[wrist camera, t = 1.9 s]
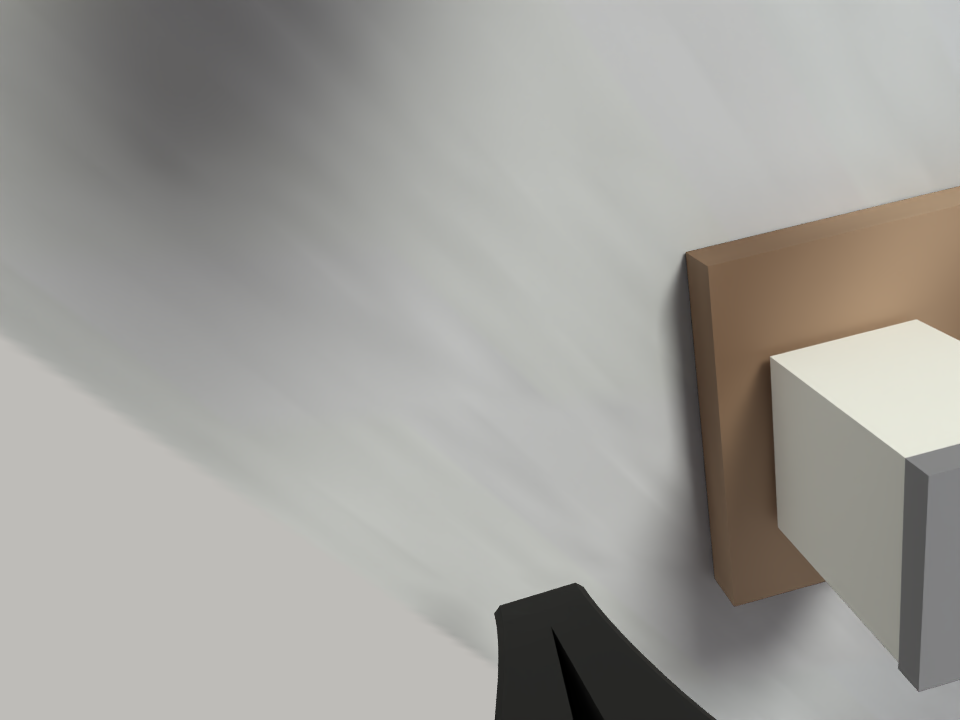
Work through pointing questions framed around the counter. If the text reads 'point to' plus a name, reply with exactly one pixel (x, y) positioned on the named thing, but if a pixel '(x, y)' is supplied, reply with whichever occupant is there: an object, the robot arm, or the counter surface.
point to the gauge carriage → (878, 483)
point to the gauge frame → (794, 325)
